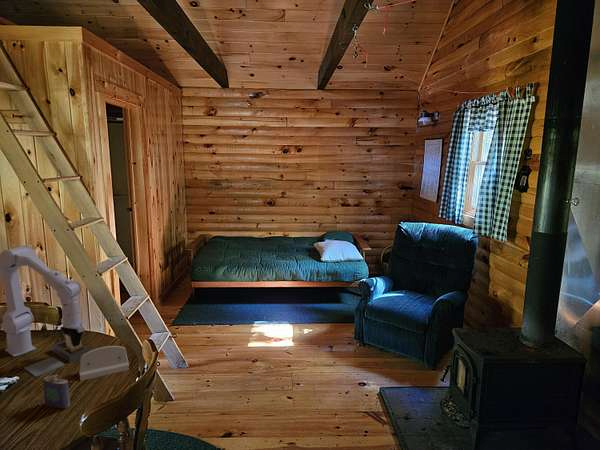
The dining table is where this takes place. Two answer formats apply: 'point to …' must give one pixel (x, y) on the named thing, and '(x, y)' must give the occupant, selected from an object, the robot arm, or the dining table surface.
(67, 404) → the flask
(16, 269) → the robot arm
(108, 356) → the grey rounded block
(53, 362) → the mat
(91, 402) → the dining table surface
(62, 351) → the double cubby frame
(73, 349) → the tan rectangular block
